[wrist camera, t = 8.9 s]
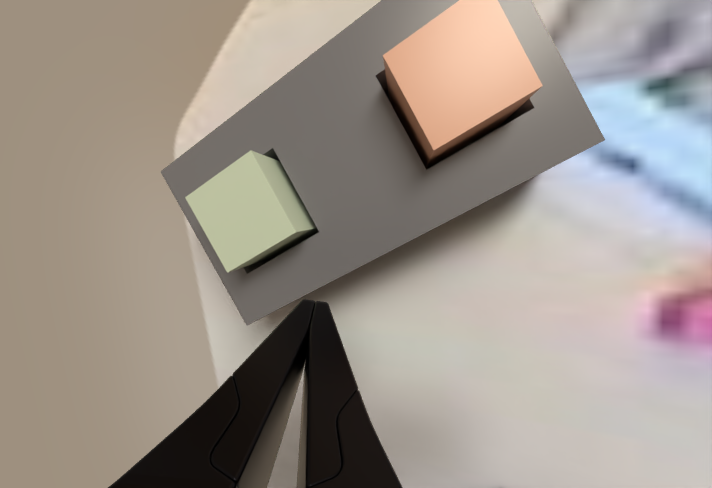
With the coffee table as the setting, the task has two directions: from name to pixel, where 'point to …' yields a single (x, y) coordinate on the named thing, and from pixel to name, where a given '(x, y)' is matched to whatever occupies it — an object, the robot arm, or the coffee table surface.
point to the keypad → (376, 152)
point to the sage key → (251, 211)
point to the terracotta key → (458, 78)
